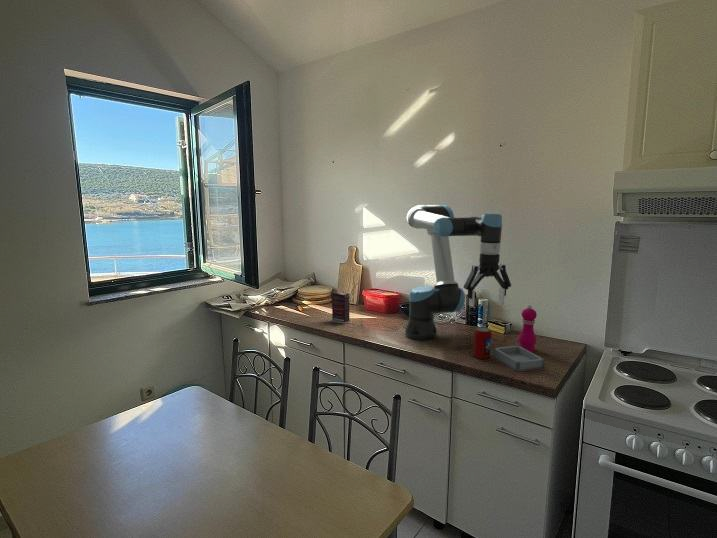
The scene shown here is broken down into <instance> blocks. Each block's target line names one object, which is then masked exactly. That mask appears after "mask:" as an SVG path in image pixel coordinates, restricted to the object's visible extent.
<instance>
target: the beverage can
mask: <svg viewBox="0 0 717 538" xmlns="http://www.w3.org/2000/svg"><path fill="white" fill-rule="evenodd" d="M491 350H492V332H491V329H490V328H488V327H486V326H485V327H484V326H478V327H476V329H475V330H474V336H473V355H474V356H475V358H478V359H480V360H481V359H484V360H486V359H488V358H490V357H491Z"/></svg>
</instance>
